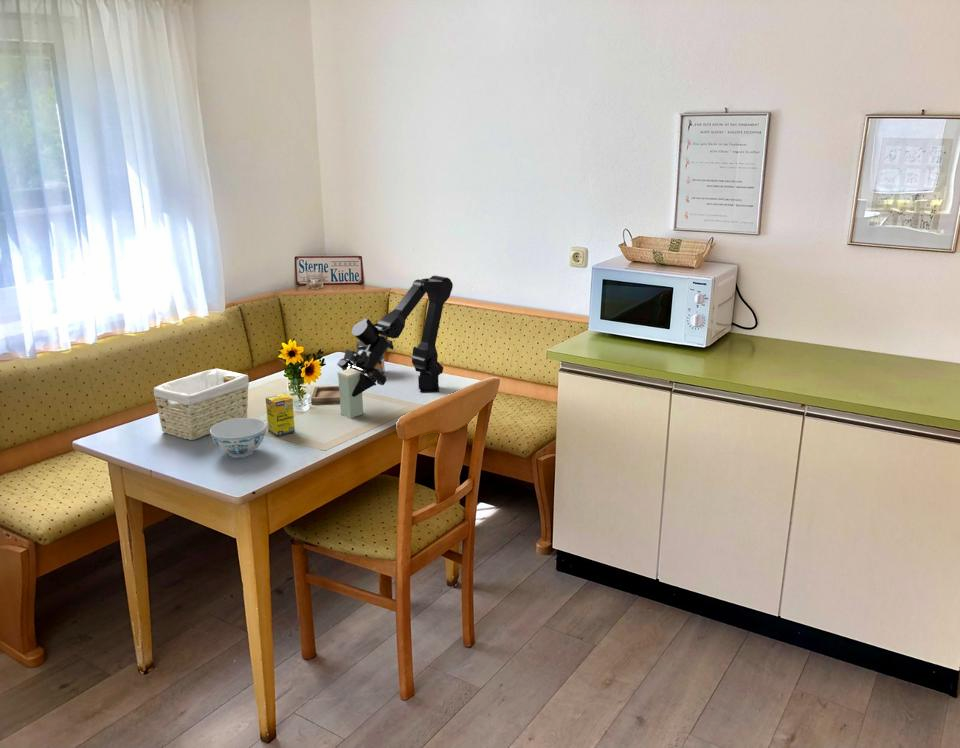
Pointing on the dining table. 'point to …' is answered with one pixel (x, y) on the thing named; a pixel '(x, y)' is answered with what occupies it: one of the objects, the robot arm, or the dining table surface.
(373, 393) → the dining table surface
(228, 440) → the chinaware
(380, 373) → the robot arm
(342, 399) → the tea tin
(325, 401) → the walnut tray
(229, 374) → the storage basket
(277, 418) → the supplement box
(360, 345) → the supplement container
